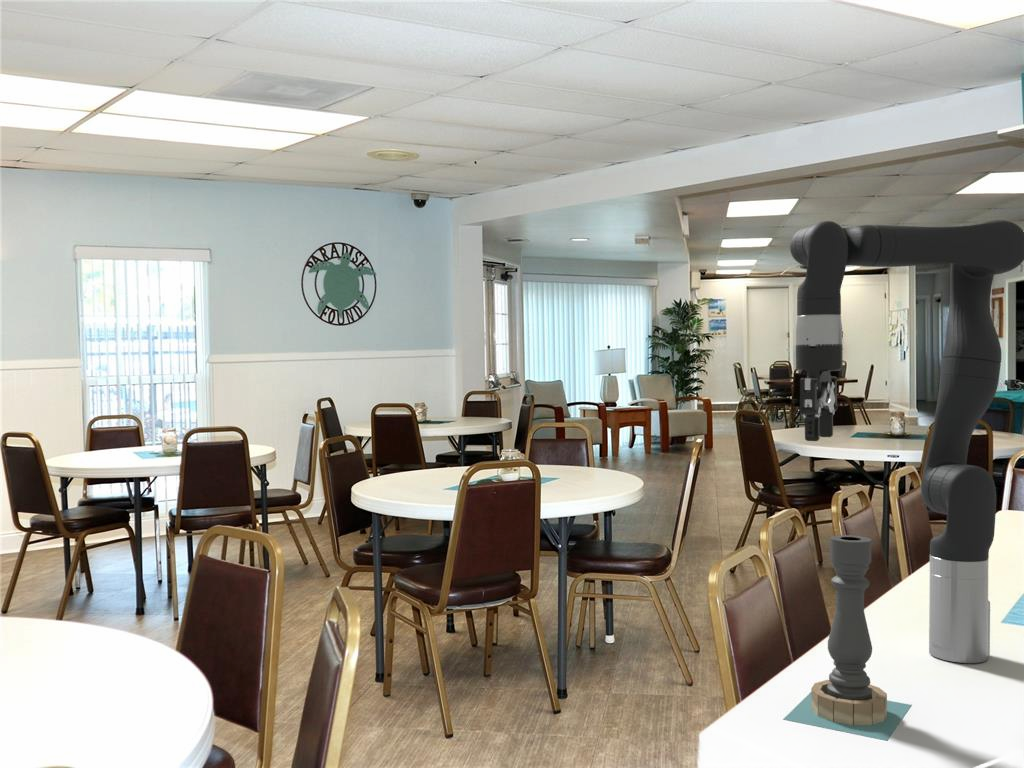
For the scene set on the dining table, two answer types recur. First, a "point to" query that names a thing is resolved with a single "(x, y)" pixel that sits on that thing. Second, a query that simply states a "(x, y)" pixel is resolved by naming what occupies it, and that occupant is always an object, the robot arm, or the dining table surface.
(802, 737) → the dining table surface
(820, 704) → the segmented wooden ring
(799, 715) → the runner mat
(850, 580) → the candle holder
